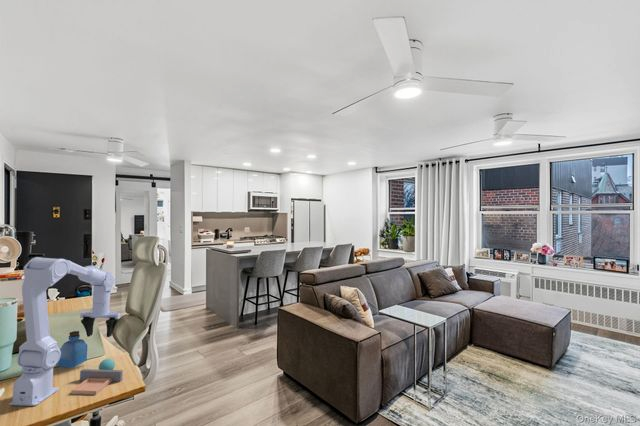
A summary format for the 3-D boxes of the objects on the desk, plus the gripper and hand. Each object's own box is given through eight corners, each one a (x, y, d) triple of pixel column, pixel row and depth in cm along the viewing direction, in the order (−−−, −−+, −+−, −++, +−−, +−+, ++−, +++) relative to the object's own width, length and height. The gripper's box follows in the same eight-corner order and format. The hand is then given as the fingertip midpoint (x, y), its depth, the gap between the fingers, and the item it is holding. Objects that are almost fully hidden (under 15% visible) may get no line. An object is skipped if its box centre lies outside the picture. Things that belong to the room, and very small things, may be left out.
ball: (109, 376, 115) (109, 362, 115) (95, 376, 115) (95, 362, 115) (117, 369, 120) (118, 356, 120) (104, 369, 120) (104, 356, 120)
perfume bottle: (86, 360, 126) (88, 330, 127) (73, 367, 120) (74, 336, 120) (72, 359, 127) (74, 329, 127) (58, 366, 121) (59, 334, 121)
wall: (120, 381, 112) (120, 371, 112) (79, 380, 112) (80, 370, 112) (122, 380, 113) (122, 370, 113) (82, 378, 113) (82, 369, 113)
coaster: (96, 394, 104) (96, 390, 104) (71, 393, 104) (71, 390, 104) (111, 381, 112) (111, 378, 112) (88, 381, 112) (88, 377, 112)
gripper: (125, 299, 131) (123, 332, 131) (89, 298, 131) (87, 331, 130) (115, 304, 124) (113, 339, 124) (77, 303, 123) (75, 338, 123)
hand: (99, 336), depth 127 cm, fingers open, 7 cm apart
